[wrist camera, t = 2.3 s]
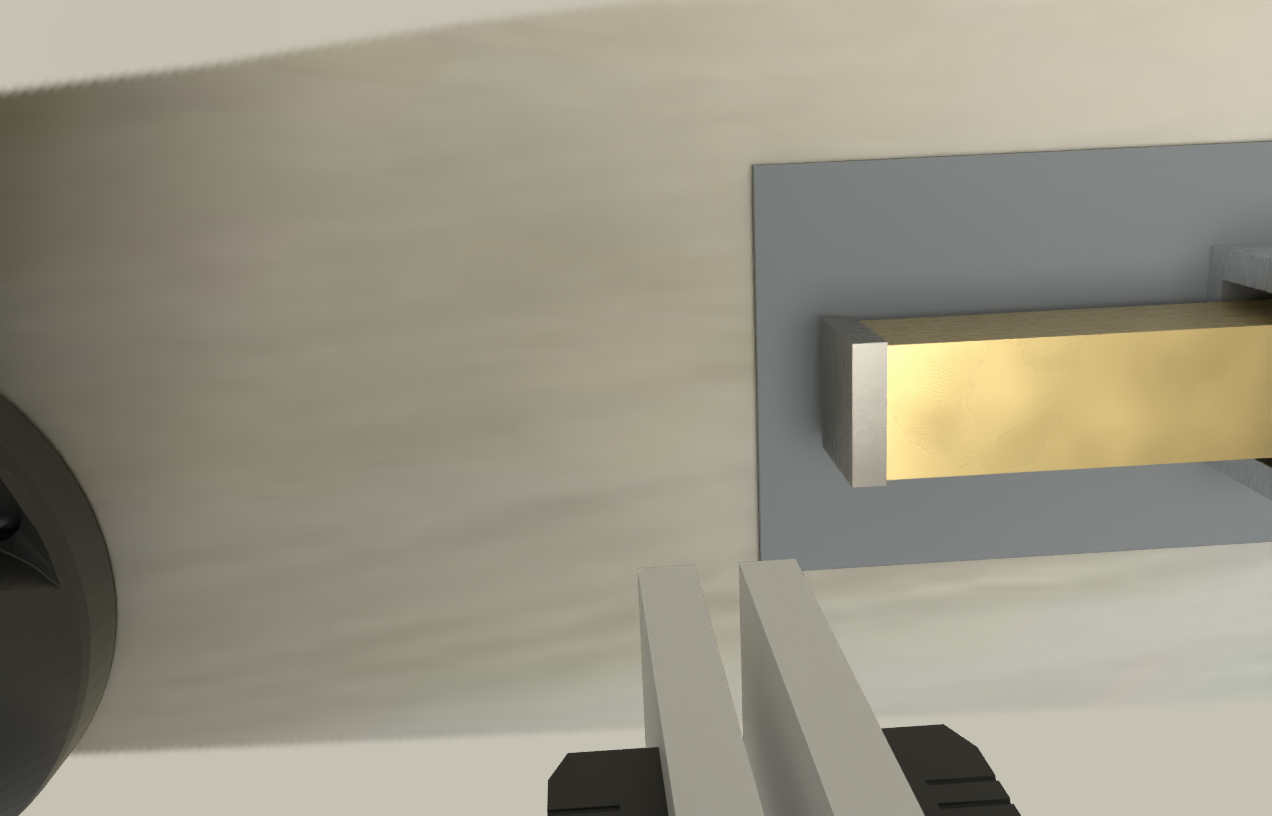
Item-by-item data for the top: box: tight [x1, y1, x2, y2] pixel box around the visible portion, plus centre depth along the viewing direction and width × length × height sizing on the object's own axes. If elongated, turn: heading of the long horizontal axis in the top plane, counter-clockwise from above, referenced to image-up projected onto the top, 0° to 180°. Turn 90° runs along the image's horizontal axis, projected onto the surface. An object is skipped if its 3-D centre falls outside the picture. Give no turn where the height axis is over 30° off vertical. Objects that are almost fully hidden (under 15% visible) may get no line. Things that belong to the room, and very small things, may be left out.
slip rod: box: [822, 299, 1272, 488], centre depth 30 cm, size 16×3×3 cm, turn 93°
